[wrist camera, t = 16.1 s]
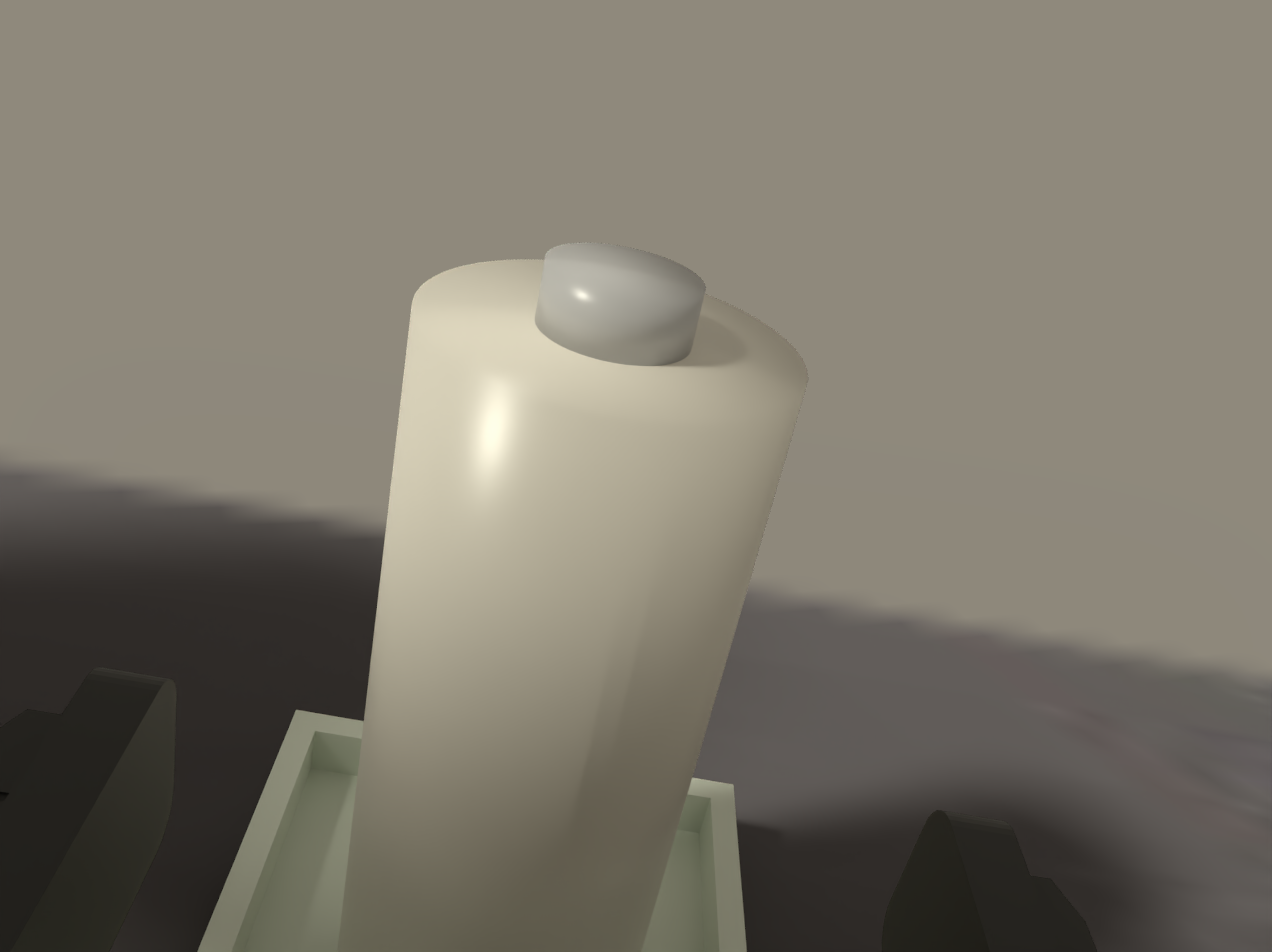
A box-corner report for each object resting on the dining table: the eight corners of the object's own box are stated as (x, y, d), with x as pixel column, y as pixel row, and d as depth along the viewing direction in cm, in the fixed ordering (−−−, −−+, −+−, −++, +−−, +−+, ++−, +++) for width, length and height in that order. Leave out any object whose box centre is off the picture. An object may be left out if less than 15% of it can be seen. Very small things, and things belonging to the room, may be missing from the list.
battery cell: (299, 1085, 18) (378, 300, 12) (371, 841, 22) (454, 180, 16) (621, 1131, 18) (853, 393, 12) (629, 882, 23) (802, 250, 17)
